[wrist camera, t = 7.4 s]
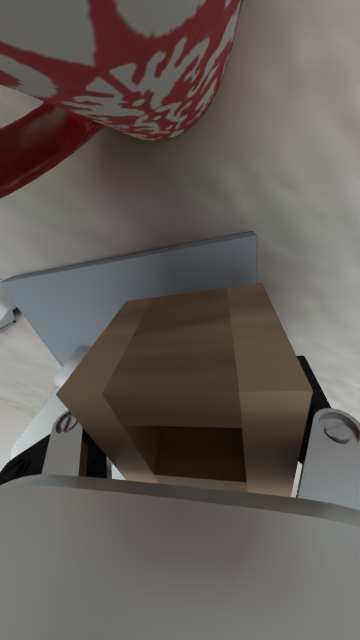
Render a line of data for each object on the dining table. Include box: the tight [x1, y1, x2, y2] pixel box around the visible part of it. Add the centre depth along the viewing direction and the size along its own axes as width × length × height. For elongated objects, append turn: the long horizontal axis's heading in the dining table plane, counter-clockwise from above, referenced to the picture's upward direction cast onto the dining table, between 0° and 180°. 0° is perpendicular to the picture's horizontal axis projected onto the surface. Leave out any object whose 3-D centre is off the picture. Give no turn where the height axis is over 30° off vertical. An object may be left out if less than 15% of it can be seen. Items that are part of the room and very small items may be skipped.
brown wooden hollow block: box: [56, 283, 313, 497], centre depth 10 cm, size 7×7×6 cm
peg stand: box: [0, 231, 257, 388], centre depth 16 cm, size 13×20×6 cm, turn 102°
